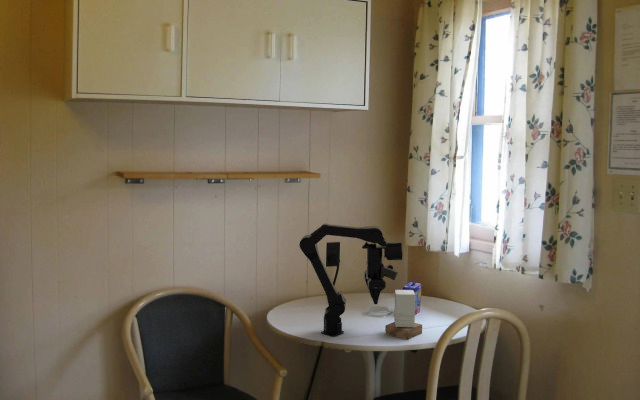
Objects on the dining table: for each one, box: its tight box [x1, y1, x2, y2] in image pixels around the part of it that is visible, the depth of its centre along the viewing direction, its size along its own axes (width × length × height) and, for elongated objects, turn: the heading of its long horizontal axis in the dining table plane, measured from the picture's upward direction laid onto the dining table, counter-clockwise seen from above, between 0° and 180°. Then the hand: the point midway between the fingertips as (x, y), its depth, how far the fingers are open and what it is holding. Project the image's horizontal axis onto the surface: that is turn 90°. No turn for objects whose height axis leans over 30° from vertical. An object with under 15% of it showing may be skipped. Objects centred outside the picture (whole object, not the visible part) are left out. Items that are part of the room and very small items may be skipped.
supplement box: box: [393, 289, 416, 327], centre depth 235 cm, size 7×7×13 cm
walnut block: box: [384, 321, 423, 341], centre depth 235 cm, size 10×10×4 cm
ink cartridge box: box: [402, 278, 422, 316], centre depth 262 cm, size 10×6×14 cm, turn 152°
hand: (374, 301), depth 234 cm, fingers open, 9 cm apart
